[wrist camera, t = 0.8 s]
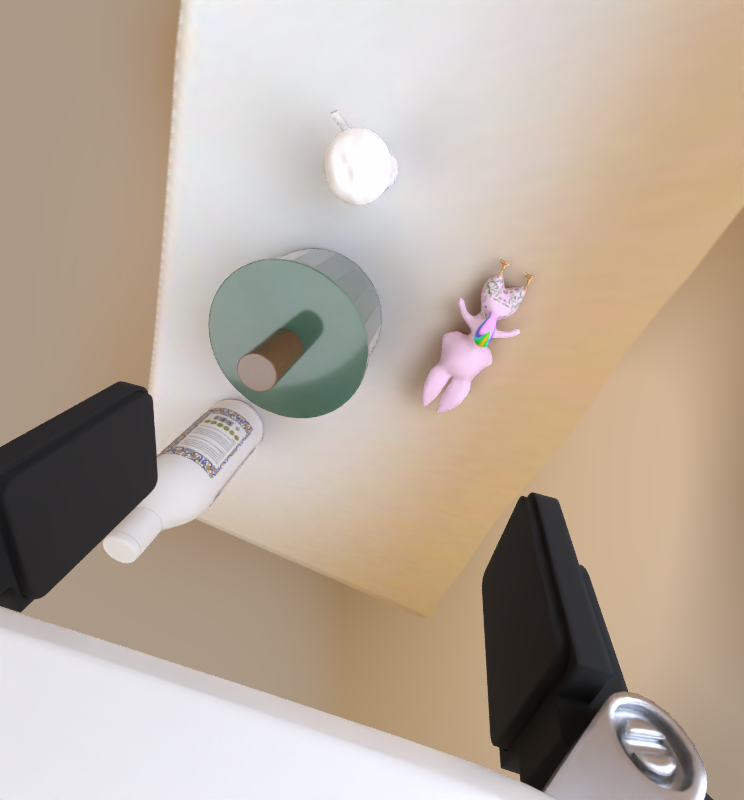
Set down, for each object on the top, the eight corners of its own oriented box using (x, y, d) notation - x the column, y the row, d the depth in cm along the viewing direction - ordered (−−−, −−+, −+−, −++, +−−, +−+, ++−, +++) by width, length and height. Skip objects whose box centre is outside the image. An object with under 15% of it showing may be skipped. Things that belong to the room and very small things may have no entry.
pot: (265, 233, 39) (219, 246, 32) (394, 267, 38) (377, 288, 31) (256, 354, 45) (216, 388, 38) (367, 385, 45) (348, 426, 37)
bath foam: (207, 393, 49) (67, 510, 32) (262, 401, 48) (148, 526, 31) (215, 442, 53) (92, 572, 35) (267, 450, 51) (166, 588, 34)
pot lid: (217, 237, 32) (162, 250, 26) (387, 281, 31) (369, 305, 25) (214, 388, 39) (170, 425, 33) (354, 429, 38) (333, 474, 32)
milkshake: (395, 117, 33) (369, 95, 24) (412, 190, 35) (394, 193, 26) (342, 138, 34) (300, 125, 26) (362, 207, 37) (329, 216, 28)
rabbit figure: (483, 250, 37) (403, 389, 43) (493, 249, 32) (400, 409, 37) (544, 283, 38) (457, 417, 43) (564, 289, 32) (461, 442, 37)
